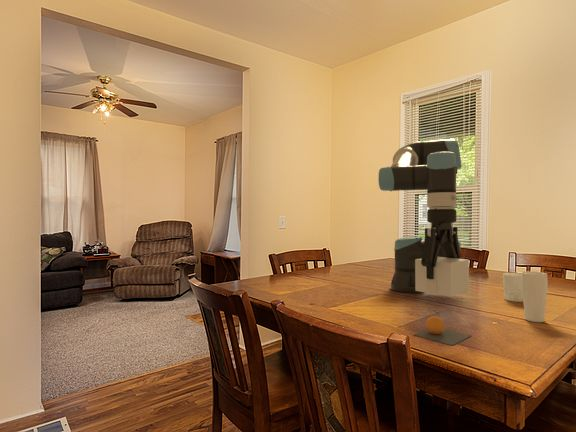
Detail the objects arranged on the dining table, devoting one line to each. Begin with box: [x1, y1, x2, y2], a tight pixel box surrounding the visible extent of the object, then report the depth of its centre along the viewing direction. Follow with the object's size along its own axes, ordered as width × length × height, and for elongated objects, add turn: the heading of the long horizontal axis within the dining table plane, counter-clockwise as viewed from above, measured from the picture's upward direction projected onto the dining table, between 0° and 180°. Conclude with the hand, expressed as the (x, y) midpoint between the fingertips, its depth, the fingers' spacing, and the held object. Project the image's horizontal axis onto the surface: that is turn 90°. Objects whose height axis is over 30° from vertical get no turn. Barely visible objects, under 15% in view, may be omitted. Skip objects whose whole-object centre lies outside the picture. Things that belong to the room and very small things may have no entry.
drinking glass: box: [521, 270, 548, 323], centre depth 116 cm, size 7×7×15 cm
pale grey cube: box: [415, 257, 470, 298], centre depth 103 cm, size 10×10×9 cm
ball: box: [425, 315, 446, 335], centre depth 104 cm, size 5×5×5 cm
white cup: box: [502, 272, 523, 303], centre depth 143 cm, size 8×8×10 cm
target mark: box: [413, 328, 472, 346], centre depth 103 cm, size 11×11×1 cm
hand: (442, 288), depth 103 cm, fingers closed on pale grey cube, 10 cm apart
